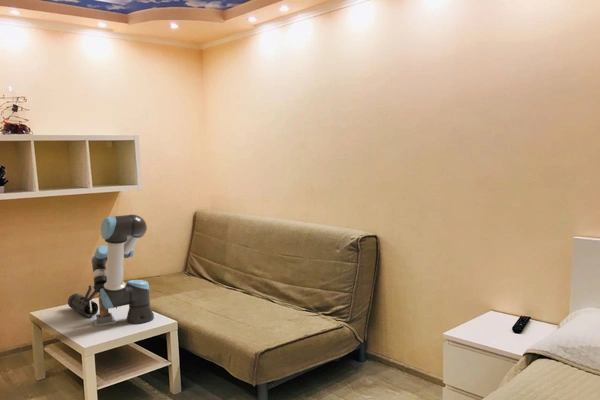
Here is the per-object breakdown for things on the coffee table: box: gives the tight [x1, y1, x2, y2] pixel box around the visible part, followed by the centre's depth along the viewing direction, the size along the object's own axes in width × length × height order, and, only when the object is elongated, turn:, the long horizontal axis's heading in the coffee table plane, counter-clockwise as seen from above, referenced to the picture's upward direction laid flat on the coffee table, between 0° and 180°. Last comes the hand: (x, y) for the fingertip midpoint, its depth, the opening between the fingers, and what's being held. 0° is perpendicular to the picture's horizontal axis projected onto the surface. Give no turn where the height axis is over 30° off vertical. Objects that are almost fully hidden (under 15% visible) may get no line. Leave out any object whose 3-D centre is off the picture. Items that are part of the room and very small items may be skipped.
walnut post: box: [98, 296, 110, 318], centre depth 285 cm, size 4×4×14 cm
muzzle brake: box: [67, 293, 99, 319], centre depth 304 cm, size 10×28×10 cm, turn 43°
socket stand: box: [93, 312, 116, 327], centre depth 285 cm, size 11×11×4 cm
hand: (104, 309), depth 283 cm, fingers open, 13 cm apart
